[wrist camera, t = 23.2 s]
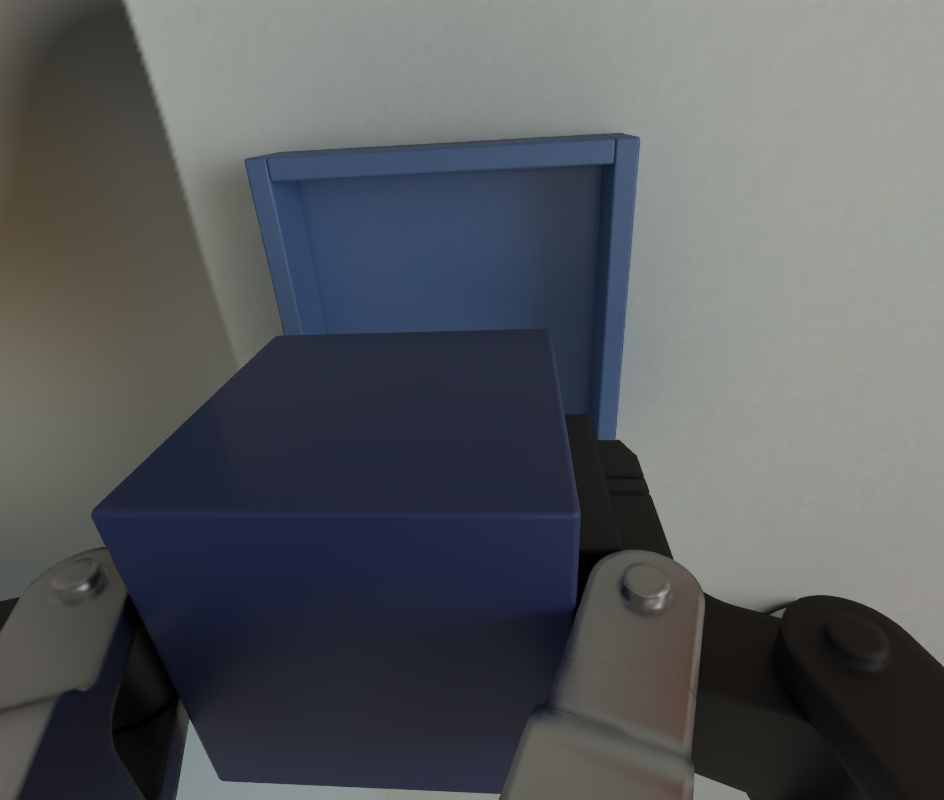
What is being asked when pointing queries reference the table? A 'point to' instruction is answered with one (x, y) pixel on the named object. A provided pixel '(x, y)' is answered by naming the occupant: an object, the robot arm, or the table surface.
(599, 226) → the blue tray
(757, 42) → the table surface
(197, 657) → the navy block
